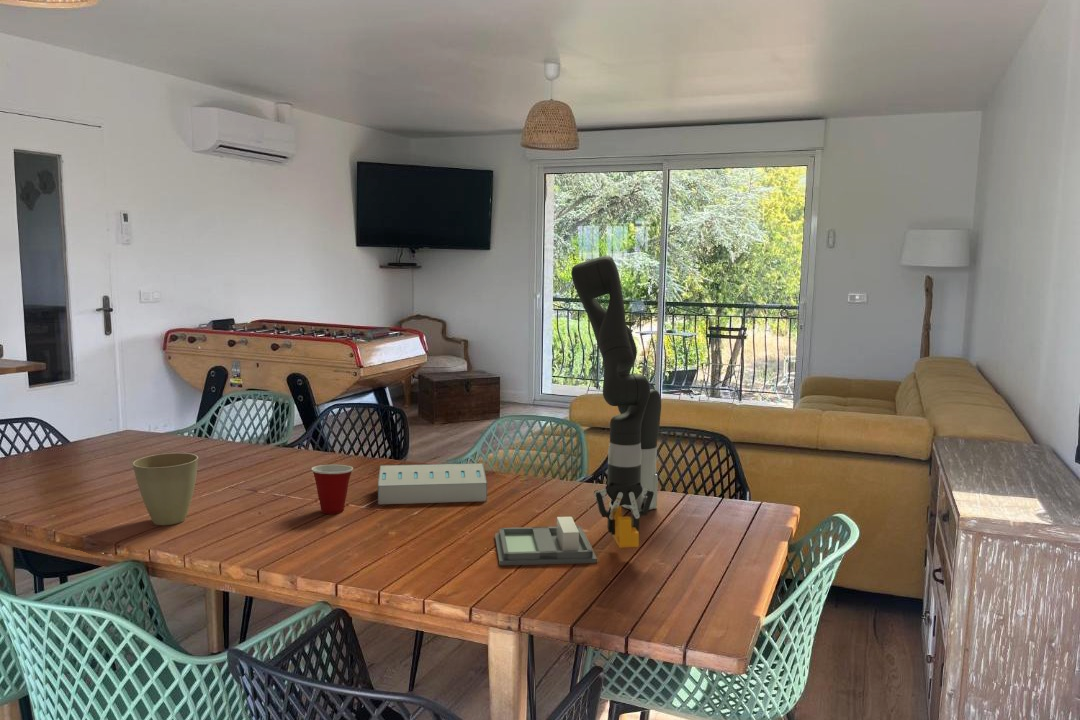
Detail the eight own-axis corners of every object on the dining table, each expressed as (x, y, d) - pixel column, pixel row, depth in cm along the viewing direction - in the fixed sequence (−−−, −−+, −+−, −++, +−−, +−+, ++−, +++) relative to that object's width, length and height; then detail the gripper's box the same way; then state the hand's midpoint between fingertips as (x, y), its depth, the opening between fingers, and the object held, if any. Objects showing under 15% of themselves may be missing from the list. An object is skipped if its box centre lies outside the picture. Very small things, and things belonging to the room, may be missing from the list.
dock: (583, 535, 195) (584, 511, 194) (597, 562, 177) (597, 537, 176) (495, 537, 192) (495, 513, 191) (499, 565, 174) (499, 539, 174)
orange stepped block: (638, 546, 176) (639, 518, 175) (619, 547, 175) (620, 519, 174) (626, 527, 187) (626, 501, 186) (608, 528, 187) (608, 502, 186)
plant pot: (187, 507, 210) (185, 449, 208) (210, 521, 199) (207, 460, 197) (127, 520, 200) (124, 458, 198) (147, 535, 189) (144, 470, 187)
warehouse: (377, 505, 216) (377, 479, 215) (380, 490, 230) (380, 465, 229) (486, 502, 221) (487, 476, 220) (482, 487, 235) (482, 463, 234)
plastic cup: (361, 506, 213) (361, 463, 212) (339, 519, 203) (339, 474, 202) (326, 502, 217) (326, 460, 215) (303, 514, 206) (302, 469, 205)
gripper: (650, 456, 183) (648, 526, 186) (590, 457, 181) (589, 528, 184) (659, 464, 176) (657, 538, 178) (597, 466, 174) (595, 540, 176)
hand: (622, 532), depth 181 cm, fingers closed on orange stepped block, 4 cm apart
